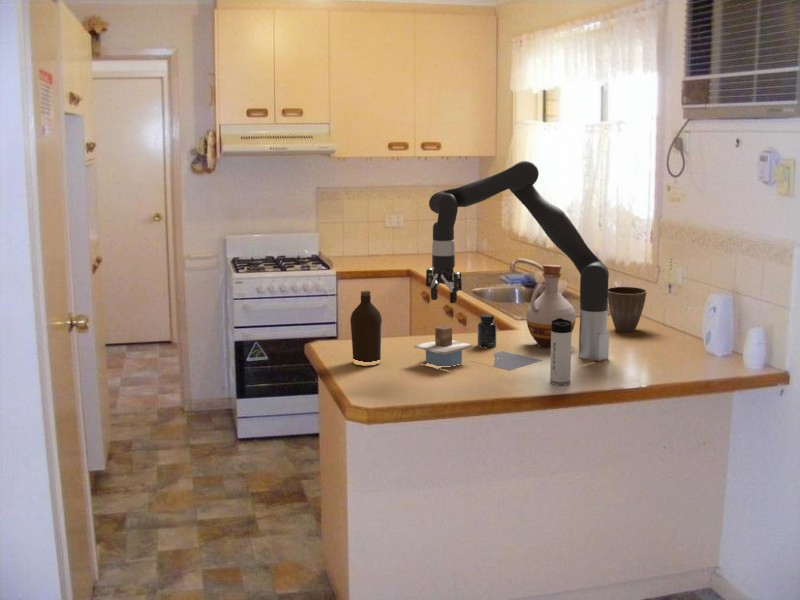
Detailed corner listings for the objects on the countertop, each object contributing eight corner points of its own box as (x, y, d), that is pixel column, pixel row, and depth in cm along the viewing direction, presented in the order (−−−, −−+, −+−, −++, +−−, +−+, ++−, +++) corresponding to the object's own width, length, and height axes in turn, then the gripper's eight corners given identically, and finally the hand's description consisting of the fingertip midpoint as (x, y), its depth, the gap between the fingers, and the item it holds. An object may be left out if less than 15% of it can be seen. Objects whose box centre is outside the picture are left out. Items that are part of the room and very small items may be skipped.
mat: (542, 361, 308) (543, 360, 308) (509, 372, 296) (509, 370, 296) (502, 352, 321) (502, 351, 321) (468, 362, 309) (468, 360, 309)
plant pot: (646, 335, 345) (648, 294, 341) (606, 334, 347) (608, 293, 344) (643, 326, 359) (644, 287, 356) (604, 325, 362) (606, 286, 358)
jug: (549, 355, 317) (551, 271, 311) (512, 346, 330) (513, 265, 325) (585, 346, 329) (587, 264, 323) (548, 337, 343) (549, 259, 337)
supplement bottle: (474, 346, 331) (474, 314, 329) (491, 344, 333) (491, 312, 331) (482, 350, 325) (482, 318, 322) (499, 348, 327) (499, 316, 325)
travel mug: (567, 379, 287) (569, 317, 283) (572, 385, 281) (573, 322, 277) (548, 379, 287) (549, 318, 283) (552, 385, 281) (553, 322, 277)
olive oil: (360, 368, 302) (358, 295, 297) (346, 361, 311) (344, 290, 306) (387, 364, 307) (386, 292, 302) (373, 357, 316) (372, 287, 311)
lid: (473, 347, 305) (473, 327, 304) (444, 354, 296) (444, 334, 294) (443, 340, 315) (443, 321, 314) (414, 347, 306) (414, 327, 304)
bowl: (468, 364, 306) (468, 347, 305) (444, 371, 298) (444, 353, 297) (443, 358, 315) (443, 341, 314) (418, 364, 307) (418, 347, 305)
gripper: (467, 254, 296) (466, 302, 300) (435, 250, 307) (436, 297, 310) (451, 256, 291) (451, 305, 295) (420, 252, 302) (420, 300, 305)
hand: (443, 301), depth 302 cm, fingers open, 8 cm apart
